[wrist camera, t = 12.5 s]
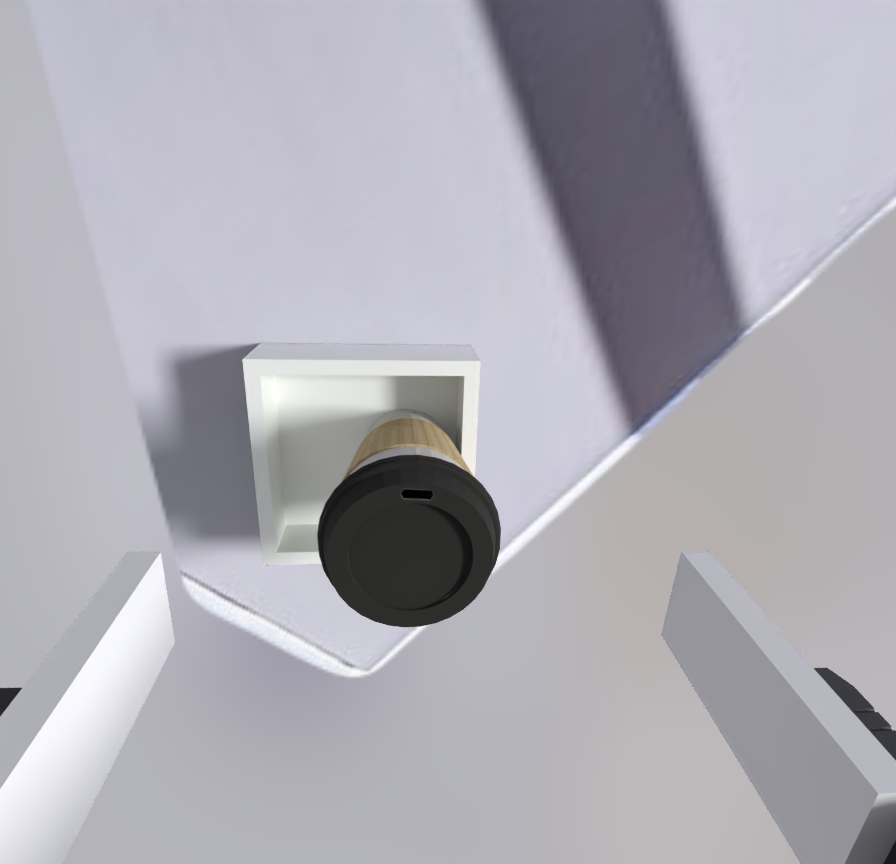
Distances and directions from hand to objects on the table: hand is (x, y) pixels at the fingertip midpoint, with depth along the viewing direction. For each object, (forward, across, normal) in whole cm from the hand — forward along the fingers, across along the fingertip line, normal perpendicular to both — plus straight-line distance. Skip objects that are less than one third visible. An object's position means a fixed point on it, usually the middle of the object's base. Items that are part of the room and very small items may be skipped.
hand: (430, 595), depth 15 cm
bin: (+28, -3, -8) cm, 30 cm away
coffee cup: (+28, 0, -8) cm, 29 cm away
